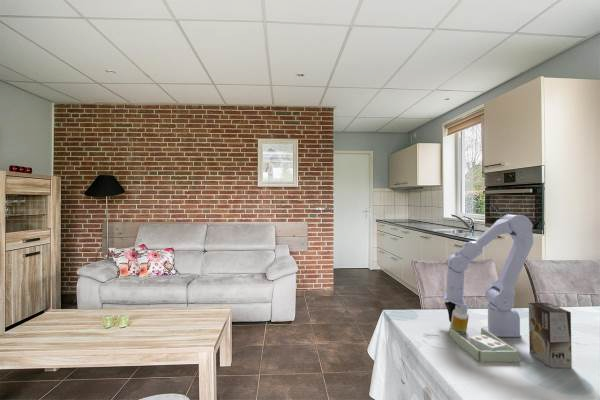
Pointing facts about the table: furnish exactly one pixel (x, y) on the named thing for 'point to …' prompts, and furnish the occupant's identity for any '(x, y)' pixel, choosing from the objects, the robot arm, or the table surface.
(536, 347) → the coffee box
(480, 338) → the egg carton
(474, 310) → the table surface
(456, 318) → the supplement bottle
